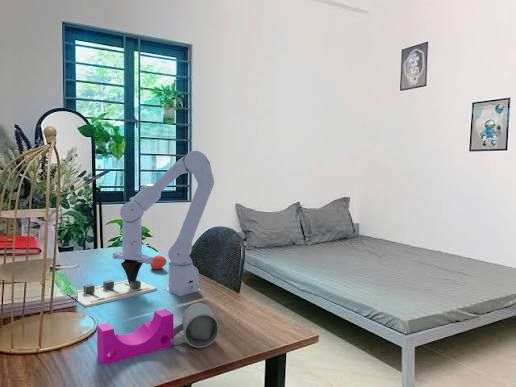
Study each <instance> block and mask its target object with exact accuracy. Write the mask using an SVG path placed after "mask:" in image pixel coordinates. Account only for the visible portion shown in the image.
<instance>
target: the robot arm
mask: <svg viewBox="0 0 516 387" xmlns="http://www.w3.org/2000/svg"><path fill="white" fill-rule="evenodd" d="M188 173H191V174H192V175H193V177H194V179H195V181H196V183H197V187H196V190H195V191H194V195H193V197H192V200H191V201H190V202H191V203H190V204H189V207H188V210H187V213H186V216H185V218H184V221H183V223H182V226H181V229H180V231H179V233H178V235H177V238H176V239H175V241H174V243H173V244H172V246H170V248H169V250H168V255H167V256H168V259H169V260H168V286H166V287H163V288H162V289H163V290H164V291H167V292H170V293H171V294H174V295H176V296H179V297H182V296H185V295H190V294H192V293H196V292H200V291H201V289H200V288H199V287H200V284H199V280H200V278H199V277H200V276H199V275H200V273H199V269H198V268H197V267H196V266H195V265H194V263H193V259H192V258H191V256H190V255H191V254H192V251H193V240H194V238H195V234H196V232H197V229H198V227H199V224H200V222H201V218H202V216H203V214H204V211H205V209H206V206H207V204H208V200H209V198H210V196H211V193H212V191H213V187H214V185H215V179H214V175H213V171H212V166H211V162H210V161H209V159H208V158H207V156H206V155H205V154H204V153H203V152H202V151H199V150H190V151H189V152H187V153H186V155H185V156H183V157H181V158H180V159H178V160H177V161H176V162H174V164H172V165H171V167H169V168H168V169H167V170H166V172H165V173H163V174H162V175H161V176H160V177H159V179H157V181H155V182H154V183H153V184H151V183H147V184H146V185H142V186H141V187H140V188H139V189H140V190H139V192H137V193H136V194H135V195H134V196H131V197H130V198H129V199H128V200H129V201H128V202H125V203H124V204H123V205H122V206H121V208H120V210H119V215H120V217H121V220H122V226H121V228H122V231H121V232H122V235H121V238H122V241H121V242H122V244H121V245H122V248H121V250H122V251H114V252H112V259H114V260H116V259H118V260H124V261H123V262H121V263H120V266H121V267H122V268H123V270H124V273H125V275H126V277H127V278H126V279H127V280H128V282H129V284H130V281H135V280H136V279H137V277H138V275H139V272H140V269H141V267H142V266H143V264H145V265H150V264H151V263H152V258H153V256H149V255H147V254H144V252H143V249H142V248H143V247H142V244H143V243H142V240H143V237H142V233H143V231H142V230H143V229H142V228H143V227H142V217H143V216H144V213H145V212H147V211H148V210H150V208H151V207H152V206H153V205H154V204H156V202H158V201H159V200H160V199H161V198H162V191H163V190H164V189H166V188H167V187H168V186H169V185H170V184H172V182H174V181H175V180H176V179H177V178H178V177H179V176H181V175H183V174H188Z"/></svg>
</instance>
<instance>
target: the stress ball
mask: <svg viewBox="0 0 516 387" xmlns="http://www.w3.org/2000/svg"><path fill="white" fill-rule="evenodd" d="M166 264H167V259H166V257H164V256H162V255H155V256H152V263H151V264H149V266H150V267H151V269H152V270H160V269H162V268H163V267H165V266H166Z"/></svg>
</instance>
